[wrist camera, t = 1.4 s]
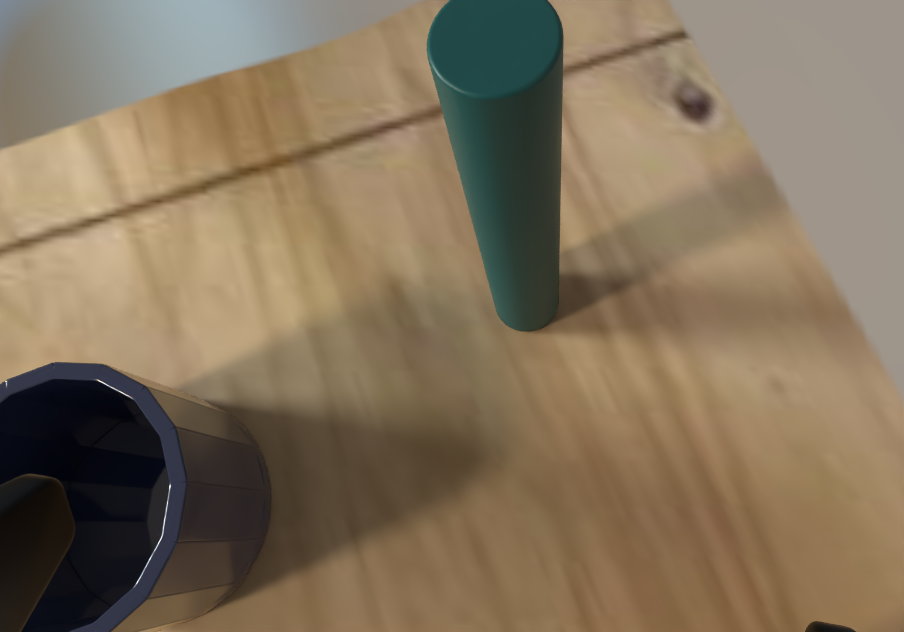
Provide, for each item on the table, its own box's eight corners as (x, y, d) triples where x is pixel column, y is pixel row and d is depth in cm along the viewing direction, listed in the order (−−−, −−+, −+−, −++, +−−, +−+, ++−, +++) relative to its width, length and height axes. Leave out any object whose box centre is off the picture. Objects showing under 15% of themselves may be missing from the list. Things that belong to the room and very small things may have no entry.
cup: (255, 636, 21) (156, 673, 16) (42, 616, 22) (-117, 645, 17) (284, 403, 23) (205, 367, 18) (87, 394, 24) (-44, 357, 19)
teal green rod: (557, 333, 22) (561, 96, 10) (493, 331, 23) (420, 99, 10) (559, 272, 23) (565, -24, 11) (496, 271, 23) (431, -18, 11)
